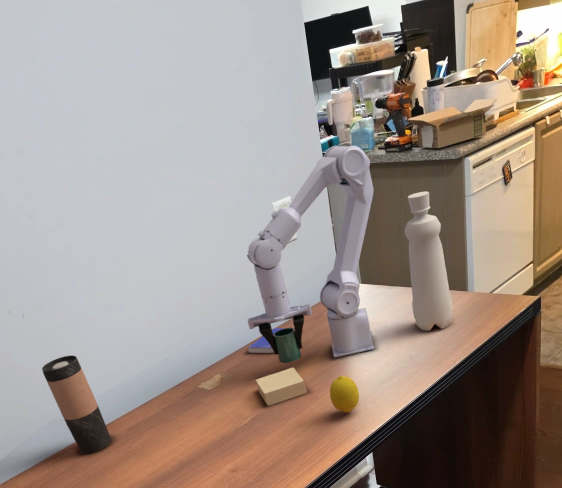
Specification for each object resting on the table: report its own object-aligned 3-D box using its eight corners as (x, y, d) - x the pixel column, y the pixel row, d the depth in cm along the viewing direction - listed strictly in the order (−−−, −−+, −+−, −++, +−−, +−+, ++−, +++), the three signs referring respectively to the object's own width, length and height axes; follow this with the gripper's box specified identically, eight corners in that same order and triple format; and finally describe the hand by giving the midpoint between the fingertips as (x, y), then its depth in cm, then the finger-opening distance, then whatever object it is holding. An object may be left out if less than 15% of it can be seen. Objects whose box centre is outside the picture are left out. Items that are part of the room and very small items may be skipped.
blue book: (272, 347, 165) (297, 327, 173) (247, 347, 170) (272, 328, 178) (273, 353, 166) (298, 333, 174) (248, 352, 171) (274, 333, 179)
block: (296, 379, 149) (293, 367, 147) (307, 393, 141) (303, 380, 139) (258, 391, 148) (255, 379, 146) (267, 406, 140) (264, 393, 139)
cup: (301, 351, 154) (294, 325, 151) (301, 359, 150) (295, 333, 147) (279, 356, 155) (273, 330, 152) (279, 364, 151) (272, 338, 147)
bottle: (414, 321, 161) (397, 195, 146) (452, 314, 159) (438, 186, 144) (416, 335, 154) (397, 203, 139) (455, 328, 151) (441, 193, 136)
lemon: (365, 405, 129) (358, 369, 125) (356, 419, 125) (349, 382, 121) (340, 406, 132) (332, 370, 128) (330, 419, 128) (322, 383, 124)
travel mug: (118, 435, 146) (84, 353, 136) (100, 454, 140) (62, 369, 130) (91, 437, 149) (55, 356, 139) (72, 455, 143) (33, 372, 133)
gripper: (241, 307, 142) (257, 363, 149) (306, 291, 140) (319, 349, 147) (243, 297, 148) (258, 352, 155) (305, 282, 146) (318, 338, 153)
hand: (288, 350), depth 151 cm, fingers closed on cup, 5 cm apart
